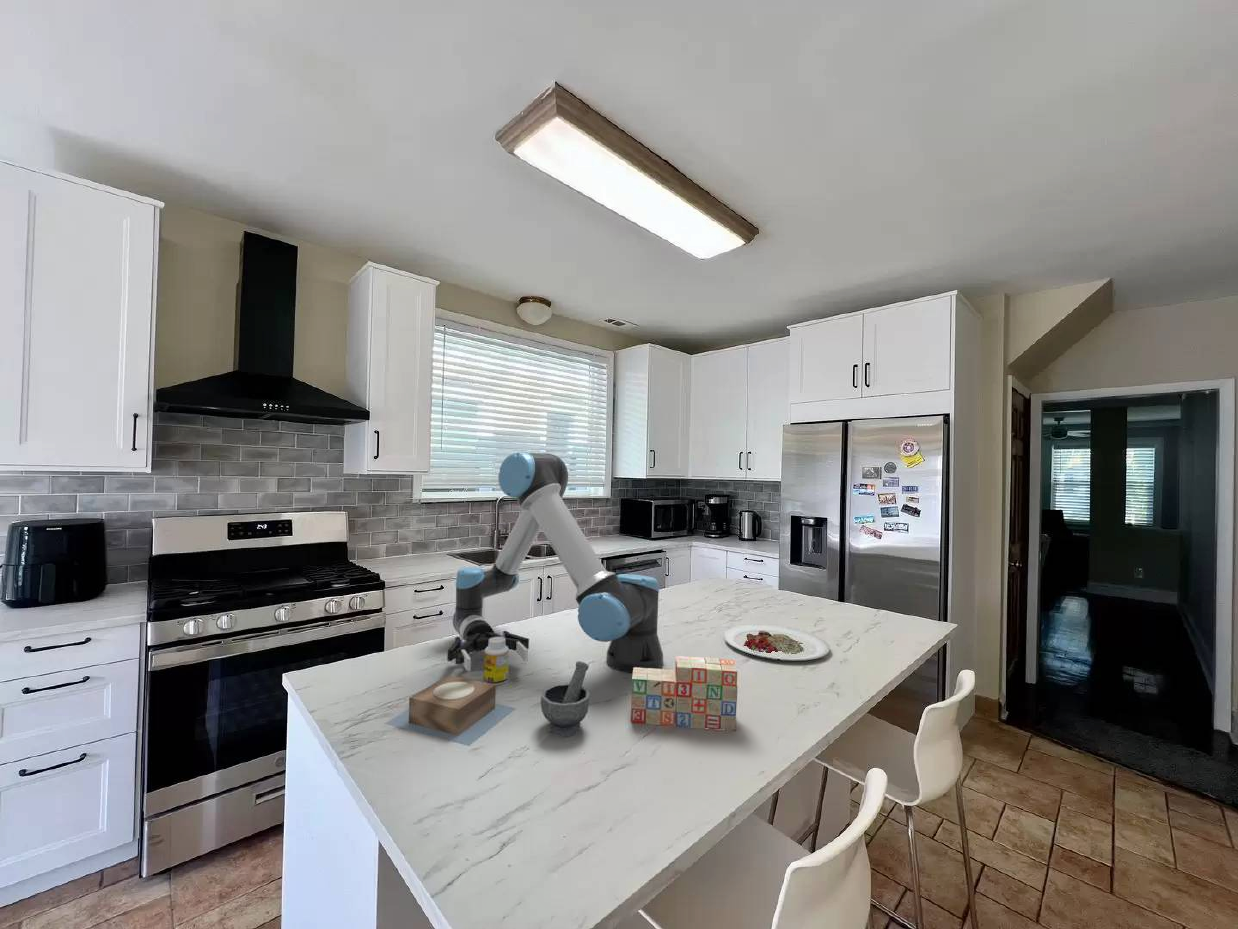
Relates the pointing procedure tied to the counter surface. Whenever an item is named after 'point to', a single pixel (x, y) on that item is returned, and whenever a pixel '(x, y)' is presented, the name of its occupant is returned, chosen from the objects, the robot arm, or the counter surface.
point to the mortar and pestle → (566, 703)
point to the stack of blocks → (686, 694)
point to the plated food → (776, 641)
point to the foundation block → (452, 704)
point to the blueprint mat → (463, 738)
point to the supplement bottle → (496, 661)
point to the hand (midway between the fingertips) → (498, 660)
